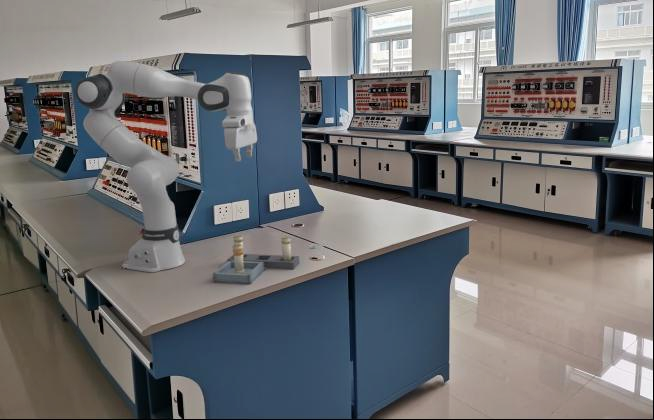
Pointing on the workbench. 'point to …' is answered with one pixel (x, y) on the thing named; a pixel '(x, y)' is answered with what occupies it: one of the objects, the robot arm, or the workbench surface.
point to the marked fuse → (238, 258)
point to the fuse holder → (271, 260)
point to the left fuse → (239, 241)
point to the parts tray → (229, 276)
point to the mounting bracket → (316, 246)
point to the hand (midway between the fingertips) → (243, 159)
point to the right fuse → (286, 248)
